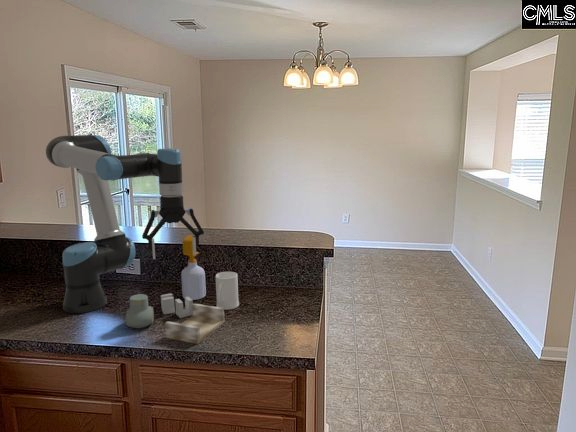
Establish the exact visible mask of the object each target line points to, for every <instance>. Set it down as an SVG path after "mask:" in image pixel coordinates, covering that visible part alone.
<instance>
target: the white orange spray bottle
mask: <svg viewBox="0 0 576 432" xmlns="http://www.w3.org/2000/svg"><path fill="white" fill-rule="evenodd" d="M182 254H183V255H184V256H188V258H189V259H188V260H187V266H186V267H185V268H184V269H182V271H181V273H180V276H181V291H182V298H183V299H184V300H185V297H188V296H189V297H190V298H191V299H192V300H193V301H196V300H197V301H198V300H200V299H203V298H205V296H206V295H207V289H206V273H205V270H204V268H202V266H199V265H198V263H197V262H198V261H197V259H196V258H195V257H196V256H197V255H199V254H200V252H199V251H196V255H195V256H194V254H193V236H192V234H188V235H187V236H186V237H185V238H184V239H183V241H182Z"/></svg>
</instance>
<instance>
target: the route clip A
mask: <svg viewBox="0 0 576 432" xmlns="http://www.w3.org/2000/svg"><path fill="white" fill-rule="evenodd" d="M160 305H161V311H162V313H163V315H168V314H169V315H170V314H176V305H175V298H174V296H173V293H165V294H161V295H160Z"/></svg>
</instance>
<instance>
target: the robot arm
mask: <svg viewBox="0 0 576 432" xmlns="http://www.w3.org/2000/svg"><path fill="white" fill-rule="evenodd" d="M181 155H182V154H181V150H180V149H178V148H167V147H166V148H158V150H157V151H156V153H150V152H142V153H141V152H140V153H138V154H126V155H125V154H122V155H118V154H117V155H116V154H113V153H112V149H111V145H110V143H109V142H108V140H107V139H105V138H104V137H103V136H101V135H98V134H97V135H96V134H95V135H93V134H80V135H79V134H78V135H60V136H57V137H54V138H53V139H51V140H50V141H49V142H48V144H47V145H46V148H45V156H46V158H47V160H48V161H49V162H50V163H51V164H52V165H54V166H56V167H59V168H63V169H68V168H73V169H76V173H78V174H79V175H81V176H82V179H83V183H84V187H85V191H86V195H87V199H88V203H89V208H90V213H91V216H92V219H93V220H92V221H93V223H94V228H95V231H96V236H95V238H93V239H94V240H93V241H94V242H92V241H85V242H78V243H75V244H72V245H70V246H68V247H66V248H65V249H64V250H63V252H62V265H63V266H62V267H63V274H64V282H65V294H64V299H63V302H62V309H63V311H64V312H66V313H68V314H83V313H84V314H85V313H88V312H89V313H90V312H92V311H93V312H94V311H97V310H99V309H101V308H103V307H105V305H106V304H107V303H108V299H107V295H106V292H105V291H104V288H103V286H102V284H101V279H100V275H103V274H106V273H110V272H112V271H113V272H114V271H116V270H121V269H124V268H126V267H129V266H131V264H132V263H134V260H135V257H136V246H135V243H134V242H133V240H132V239H131V238H130V237H127V236H126V233H125V232H124V231H123V230H121V229H120V225H119V221H118V216H117V212H116V209H115V205H114V204H115V203H114V200H113V196H112V193H111V188H110V184H109V181H118V180H123V179H124V180H125V179H133V178H143V177H158V187H159V188H158V190H159V195H160V196H159V204H160V209H159V210H155V209H152V210H150V218H149V219H148V222H147V224H146V227H145V228H144V230H143V233H142V237H141V238H142V239H143V240H147V243H148V249H149V250H152V259H153V260H156V249H155V248H156V247H155V236H156V235H157V234H158V232H159V231H160V230H161V228H162V227H163V226H164V225H165V224H166V223H167V224H172V223H175V224H177V223H179V222H181V223H182V224H183V225H184V226H185V227H186V228H187V229H188V230H189V231H190V232H191V233H192V234H193V235H192V234H191V235H192V236H193V254H194V256H195V255H196V252H197V246H199V245H200V236H201V235H204V234H205V231H204V230H203V228H202V226H201V225H200V223H199V222H198V219H197V218H196V216H195V213H194V209H193V208H192V207H189V208H184V196H183V194H184V193H183V191H184V190H183V189H184V187H183V169H182V166H183V165H182V163H183V162H182V161H183V160H182V156H181ZM185 214H187V216H190V218H191V220H192V221H193V223H194V225H195V226H196V228H197V230H196V229H195V228H194V227H193V226H192V225H191V224H190V223H189V222H188V220H186V219H185V218H184V215H185ZM158 216H160V217H161V219H160V220H159V222H158V223H157V224H156V226H155V227H154V228H153V229H152V231H151V232H150V230H151V227H152V226H153V223H154V222H155V218H157V217H158ZM149 232H150V233H149ZM196 256H197V255H196ZM196 256H195V257H196Z"/></svg>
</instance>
